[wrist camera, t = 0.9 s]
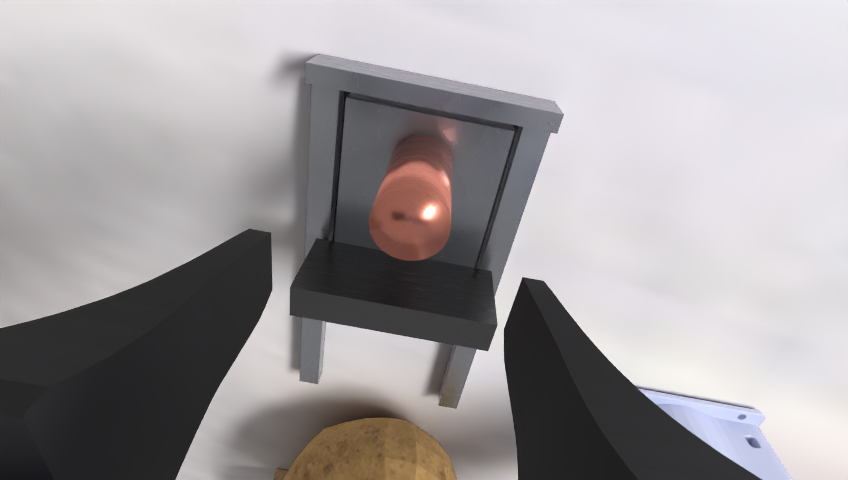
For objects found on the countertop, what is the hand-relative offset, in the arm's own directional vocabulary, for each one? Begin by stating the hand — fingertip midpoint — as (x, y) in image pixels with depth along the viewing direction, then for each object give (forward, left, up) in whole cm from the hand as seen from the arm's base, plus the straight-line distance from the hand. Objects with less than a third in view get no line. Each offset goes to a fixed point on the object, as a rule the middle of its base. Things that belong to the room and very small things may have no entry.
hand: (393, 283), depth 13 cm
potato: (0, +22, -10) cm, 25 cm away
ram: (0, +2, -10) cm, 10 cm away
